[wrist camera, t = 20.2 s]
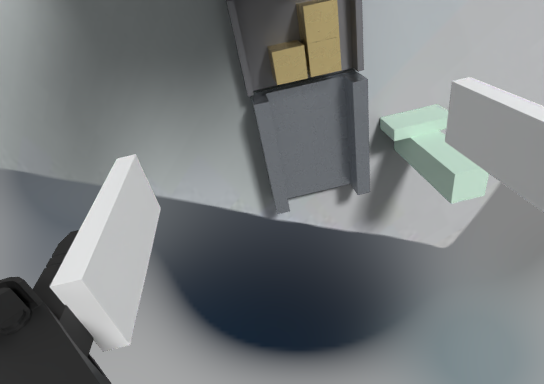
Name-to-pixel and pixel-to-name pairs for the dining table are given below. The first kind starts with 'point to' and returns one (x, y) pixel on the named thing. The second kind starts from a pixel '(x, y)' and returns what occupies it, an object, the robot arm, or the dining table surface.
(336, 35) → the dull yellow cube
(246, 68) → the chip tray
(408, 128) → the mint t-shaped block
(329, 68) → the tan yellow cube
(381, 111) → the dining table surface
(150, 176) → the dining table surface
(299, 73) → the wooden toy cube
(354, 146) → the slot rail
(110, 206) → the robot arm
